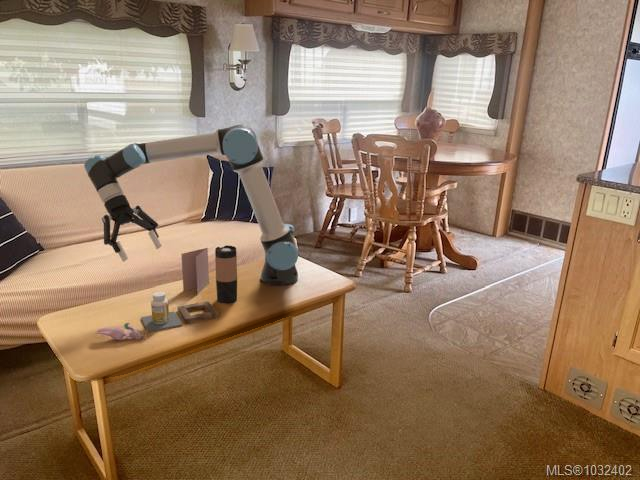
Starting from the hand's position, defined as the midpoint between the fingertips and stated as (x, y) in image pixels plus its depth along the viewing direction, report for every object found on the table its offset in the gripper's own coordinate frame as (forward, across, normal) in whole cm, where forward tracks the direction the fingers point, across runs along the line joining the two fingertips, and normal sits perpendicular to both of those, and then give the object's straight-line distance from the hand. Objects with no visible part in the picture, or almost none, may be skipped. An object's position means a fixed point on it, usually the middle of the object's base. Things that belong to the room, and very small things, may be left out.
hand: (143, 253), depth 175 cm
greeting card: (+19, -22, -11) cm, 31 cm away
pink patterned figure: (+23, +20, 0) cm, 31 cm away
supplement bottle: (+23, +6, 0) cm, 24 cm away
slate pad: (+24, +6, -1) cm, 24 cm away
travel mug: (+28, -21, +1) cm, 35 cm away
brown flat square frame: (+27, -6, +3) cm, 28 cm away
